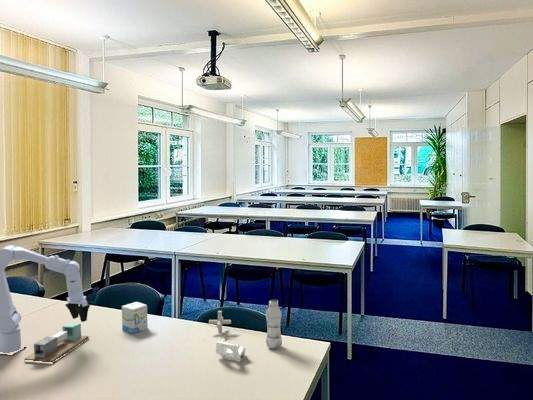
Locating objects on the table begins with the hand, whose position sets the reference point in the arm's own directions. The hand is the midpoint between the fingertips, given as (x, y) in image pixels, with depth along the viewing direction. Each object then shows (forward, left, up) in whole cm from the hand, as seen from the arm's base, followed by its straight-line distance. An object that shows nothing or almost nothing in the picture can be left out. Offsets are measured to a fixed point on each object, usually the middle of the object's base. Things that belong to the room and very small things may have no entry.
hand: (79, 319), depth 182 cm
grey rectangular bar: (-5, -11, -7) cm, 14 cm away
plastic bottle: (+84, +8, -10) cm, 85 cm away
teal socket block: (-5, +1, -9) cm, 10 cm away
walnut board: (-5, -9, -10) cm, 15 cm away
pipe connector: (+57, +20, -10) cm, 62 cm away
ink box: (+16, +18, -11) cm, 26 cm away
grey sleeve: (-5, -16, -9) cm, 19 cm away
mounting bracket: (+68, -4, -11) cm, 69 cm away
